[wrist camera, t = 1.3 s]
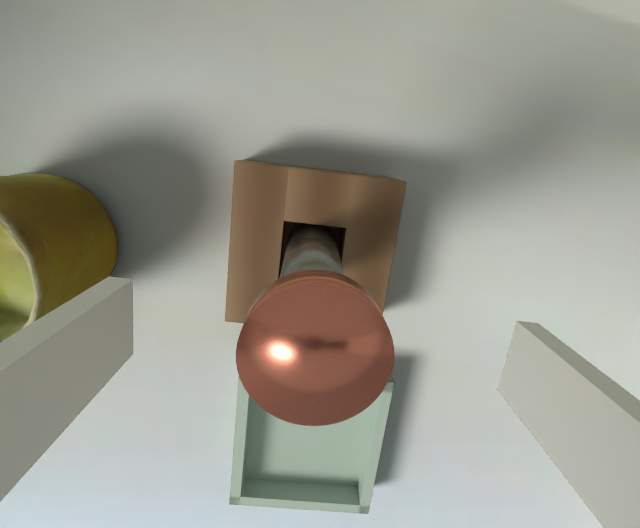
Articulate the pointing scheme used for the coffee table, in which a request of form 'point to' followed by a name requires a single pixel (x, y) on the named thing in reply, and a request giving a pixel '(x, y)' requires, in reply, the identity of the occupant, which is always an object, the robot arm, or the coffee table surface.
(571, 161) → the coffee table surface
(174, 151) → the coffee table surface
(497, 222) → the coffee table surface
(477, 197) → the coffee table surface
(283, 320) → the pin
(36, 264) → the mug
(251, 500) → the tray
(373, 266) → the socket block
